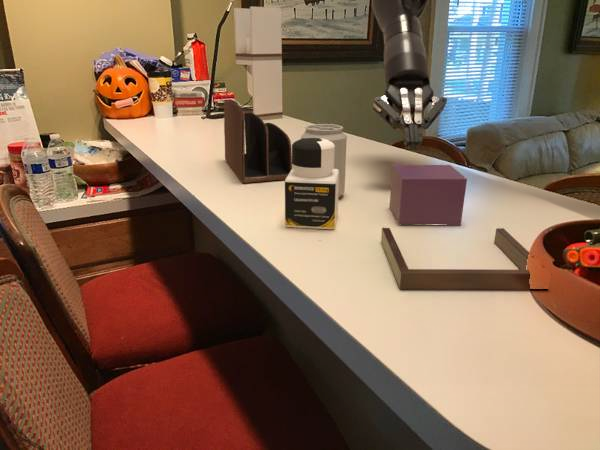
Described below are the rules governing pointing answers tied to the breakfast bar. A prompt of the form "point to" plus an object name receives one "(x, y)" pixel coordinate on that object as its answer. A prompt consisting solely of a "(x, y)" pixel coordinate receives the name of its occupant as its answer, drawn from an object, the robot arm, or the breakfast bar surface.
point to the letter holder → (255, 146)
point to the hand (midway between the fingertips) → (414, 147)
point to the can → (338, 139)
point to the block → (427, 194)
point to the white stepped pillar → (261, 57)
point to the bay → (461, 277)
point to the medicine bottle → (312, 185)
